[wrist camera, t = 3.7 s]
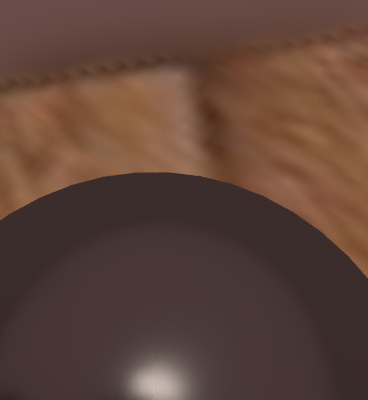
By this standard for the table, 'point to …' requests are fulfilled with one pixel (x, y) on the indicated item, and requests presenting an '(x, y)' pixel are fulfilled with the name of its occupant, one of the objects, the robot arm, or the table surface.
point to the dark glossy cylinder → (176, 297)
